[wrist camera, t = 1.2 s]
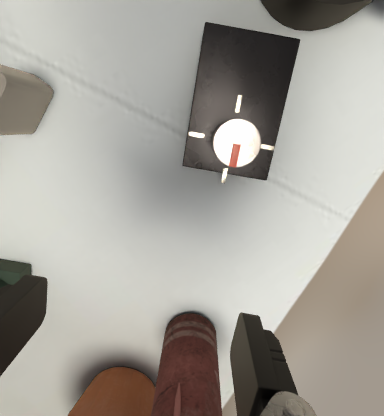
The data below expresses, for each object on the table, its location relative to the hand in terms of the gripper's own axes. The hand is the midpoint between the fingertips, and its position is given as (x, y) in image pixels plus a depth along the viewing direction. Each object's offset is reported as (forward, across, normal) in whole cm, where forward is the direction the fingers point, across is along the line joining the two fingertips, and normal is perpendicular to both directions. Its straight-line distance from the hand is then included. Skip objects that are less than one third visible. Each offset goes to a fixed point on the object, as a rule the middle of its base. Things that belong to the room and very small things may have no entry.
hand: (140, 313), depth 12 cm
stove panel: (+20, -4, -10) cm, 23 cm away
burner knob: (+17, -4, -7) cm, 19 cm away
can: (+20, -4, +16) cm, 26 cm away
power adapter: (+20, +16, -6) cm, 27 cm away
